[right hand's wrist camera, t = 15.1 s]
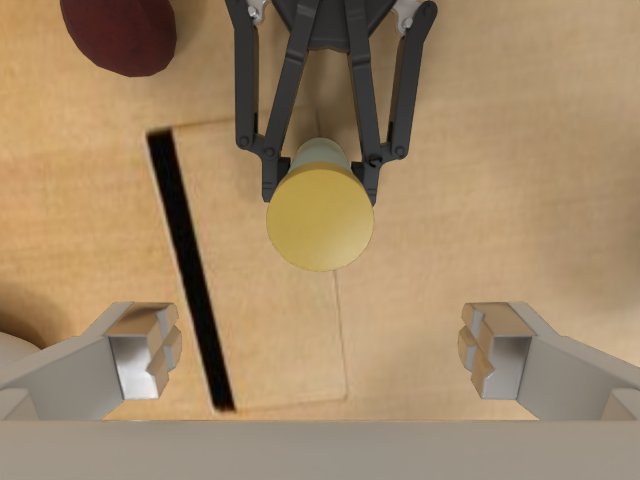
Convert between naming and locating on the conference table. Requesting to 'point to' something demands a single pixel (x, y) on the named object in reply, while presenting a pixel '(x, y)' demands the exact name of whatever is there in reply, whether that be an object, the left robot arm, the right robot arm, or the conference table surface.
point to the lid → (320, 217)
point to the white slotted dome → (14, 349)
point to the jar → (320, 153)
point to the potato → (123, 33)
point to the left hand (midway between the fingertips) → (316, 242)
